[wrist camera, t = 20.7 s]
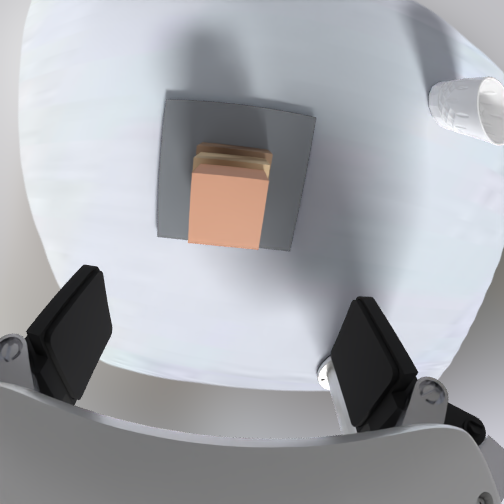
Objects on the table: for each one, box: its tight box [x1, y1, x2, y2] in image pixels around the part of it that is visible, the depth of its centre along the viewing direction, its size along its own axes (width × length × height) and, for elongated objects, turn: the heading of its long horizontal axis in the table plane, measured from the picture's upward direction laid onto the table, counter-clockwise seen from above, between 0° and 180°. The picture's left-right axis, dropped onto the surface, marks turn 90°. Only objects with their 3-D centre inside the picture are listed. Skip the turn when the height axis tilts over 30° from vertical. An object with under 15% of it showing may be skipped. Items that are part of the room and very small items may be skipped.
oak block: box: [193, 152, 270, 178], centre depth 24 cm, size 6×6×4 cm
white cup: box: [429, 77, 504, 146], centre depth 21 cm, size 8×8×10 cm
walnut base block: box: [196, 142, 273, 180], centre depth 27 cm, size 7×7×4 cm
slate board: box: [157, 99, 316, 251], centre depth 30 cm, size 16×16×1 cm
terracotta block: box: [188, 164, 269, 250], centre depth 20 cm, size 5×5×4 cm
